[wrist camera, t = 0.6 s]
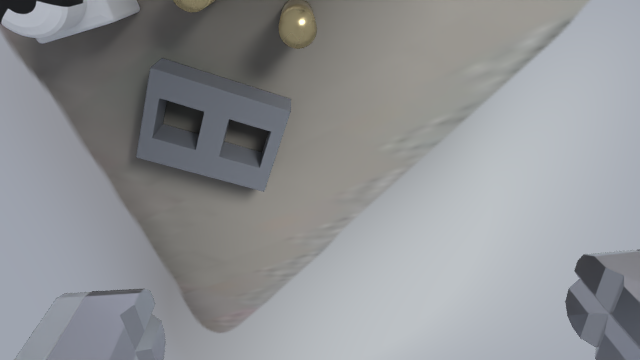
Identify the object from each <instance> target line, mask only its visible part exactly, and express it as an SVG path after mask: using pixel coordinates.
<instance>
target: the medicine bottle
mask: <svg viewBox="0 0 640 360" xmlns="http://www.w3.org/2000/svg"><path fill="white" fill-rule="evenodd" d="M139 11H140V7H139V4H138V2H137V0H0V23H1V24H2V25H3V26H5V27H6V28H8V29H9V30H11V31H13V32H15V33H17V34H19V35H22V36H26V37H31V38H36V40H37V41H38V42H39V43H47V42H51V41H54V40H57V39H60V38H64V37H67V36H70V35H74V34H77V33H80V32H84V31H87V30H90V29H93V28H97V27H100V26H103V25H107V24H110V23H113V22H116V21H118V20H120V19H123V18H125V17H128V16H130V15H133V14H135V13H137V12H139Z"/></svg>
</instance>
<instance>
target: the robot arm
mask: <svg viewBox="0 0 640 360" xmlns="http://www.w3.org/2000/svg"><path fill="white" fill-rule="evenodd" d="M575 273H576V274H577V276H578V277H579V280H578V281H577V282H576V283H574V284H573V285H572V286H571V287H570V288H569V290H568V294H567V297H566V301H565V302H566V309H567V316H568V318H569V320H570V323H571V325H572V327H573V328H574V330H575V331H576V333H577V334H578V335H579V337H580V338H581V339H583V340H585V341H586V342H588V343H589V344H591V345H593V346H594V347H596V351H595V359H596V360H640V249H639V250H630V251H619V252H607V253H595V254H584V255H583V256H582V257H581V258H580V259H579V260H578V262H577V265H576V268H575ZM154 306H155V302H154V299H153V297H152V294H151V291H150V290H147V289H129V290H111V291H92V292H85V293H66V294H63V295H61V296H60V297H58V298H57V299H56V300H55V301H54V302H53V304H52V305H51V307H50V308H49V310H48V311H47V313H46V314H45V316H44V317H43V319H42V320H41V322H40V323H39V324H38V326H37V327H36V329H35V330H34V332H33V333H32V335H31V336H30V337H29V339H28V341H27V342H26V343H25V345H24V346H23V348H22V349H21V351H20V352H19V353H18V355H17V356H16V358H15V359H14V360H163V359H164V352H165V333H164V328H163V325H162V322H161V320H159V319H158V318H156V317H155V316H154V315H152V311H153V308H154Z"/></svg>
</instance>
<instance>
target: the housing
mask: <svg viewBox="0 0 640 360" xmlns="http://www.w3.org/2000/svg"><path fill="white" fill-rule="evenodd" d="M167 101H170V102H173V103H177V104H180V105H184V106H187V107H190V108H194V109H197V110H200V111H204V116H203V120H202V125H201V129H200V134H196V133H193V132H189V131H186V130H182V129H179V128H176V127H172V126H169V125H165V124H163V120H164V115H165V110H166V104H167ZM290 112H291V99H289V98H286V97H283V96H279V95H276V94H273V93H270V92H267V91H264V90H261V89H257V88H254V87H251V86H248V85H245V84H242V83H239V82H236V81H232V80H229V79H226V78H223V77H220V76H217V75H214V74H210V73H207V72H204V71H201V70H198V69H195V68H192V67H189V66H185V65H182V64H179V63H176V62H173V61H170V60H167V59H163V58H162V59H160V60H159V61H158V62H157V63H156V64H154V65H153V66H152V67H151V68H150V73H149V80H148V86H147V92H146V99H145V105H144V111H143V118H142V124H141V130H140V137H139V143H138V149H137V155H136V157H137V158H140V159H144V160H148V161H151V162H155V163H159V164H163V165H166V166H170V167H174V168H178V169H181V170H185V171H189V172H192V173H196V174H200V175H204V176H207V177H211V178H215V179H218V180H222V181H226V182H230V183H233V184H237V185H241V186H245V187H248V188H252V189H256V190H259V191H263V192H264V190H265V187H266V184H267V181H268V178H269V175H270V172H271V169H272V166H273V163H274V160H275V157H276V154H277V151H278V148H279V145H280V142H281V139H282V136H283V133H284V130H285V127H286V124H287V121H288V118H289V115H290ZM230 120H234V121H237V122H240V123H244V124H247V125H250V126H254V127H257V128H260V129H264V130H267V131H269V133H268V136H267V139H266V142H265V146H264V149H263V152H259V151H255V150H252V149H248V148H245V147H241V146H238V145H235V144H231V143H228V142H225V138H226V134H227V130H228V127H229V123H230Z"/></svg>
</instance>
